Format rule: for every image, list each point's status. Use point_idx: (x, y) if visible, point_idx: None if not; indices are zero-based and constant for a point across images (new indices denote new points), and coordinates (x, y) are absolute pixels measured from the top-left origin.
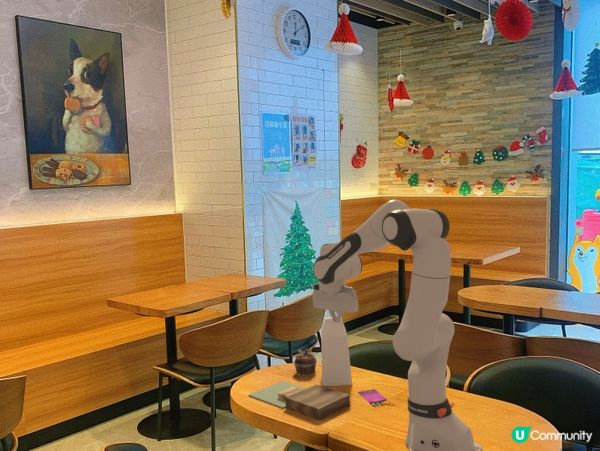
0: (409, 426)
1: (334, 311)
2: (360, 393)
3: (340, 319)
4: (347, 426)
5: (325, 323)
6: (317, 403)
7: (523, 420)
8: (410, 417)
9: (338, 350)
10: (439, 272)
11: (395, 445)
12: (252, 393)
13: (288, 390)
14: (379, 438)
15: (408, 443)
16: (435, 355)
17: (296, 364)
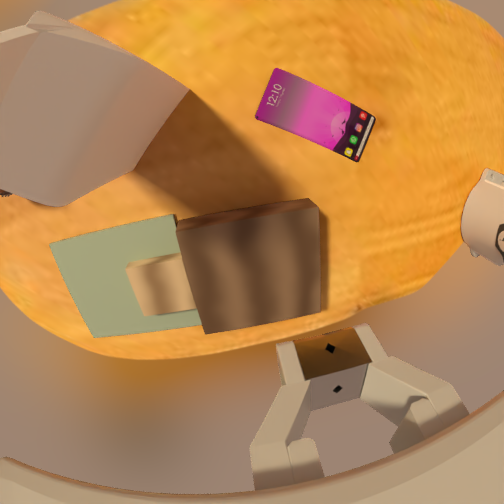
0: (488, 254)
1: (315, 455)
2: (269, 120)
3: (376, 344)
4: (372, 270)
5: None
6: (295, 300)
7: None
8: (499, 259)
9: (130, 118)
10: None
11: (454, 252)
12: (91, 330)
13: (143, 291)
14: (432, 256)
15: (471, 247)
16: None
17: (8, 195)
